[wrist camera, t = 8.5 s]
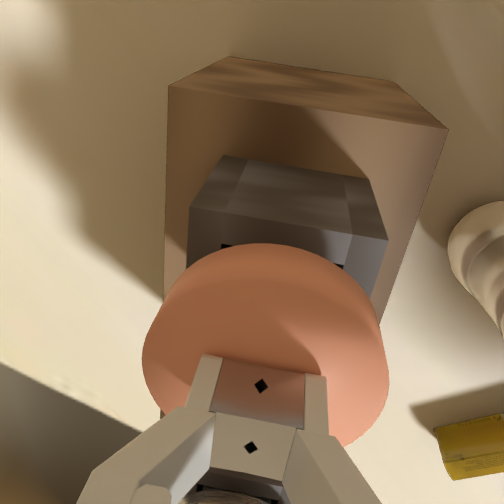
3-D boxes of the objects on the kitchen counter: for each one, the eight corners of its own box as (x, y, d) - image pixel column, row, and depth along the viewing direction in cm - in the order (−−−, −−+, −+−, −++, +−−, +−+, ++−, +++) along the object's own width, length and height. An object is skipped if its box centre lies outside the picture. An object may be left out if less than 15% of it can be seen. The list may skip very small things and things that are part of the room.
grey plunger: (312, 410, 21) (311, 552, 15) (291, 481, 24) (284, 621, 18) (194, 387, 21) (151, 519, 16) (188, 460, 24) (151, 592, 19)
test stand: (393, 81, 25) (504, 177, 10) (318, 354, 36) (320, 588, 21) (228, 56, 26) (110, 113, 11) (203, 333, 37) (128, 547, 22)
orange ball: (382, 192, 14) (425, 307, 9) (341, 329, 17) (353, 479, 12) (207, 164, 14) (141, 256, 9) (197, 303, 18) (142, 437, 12)
